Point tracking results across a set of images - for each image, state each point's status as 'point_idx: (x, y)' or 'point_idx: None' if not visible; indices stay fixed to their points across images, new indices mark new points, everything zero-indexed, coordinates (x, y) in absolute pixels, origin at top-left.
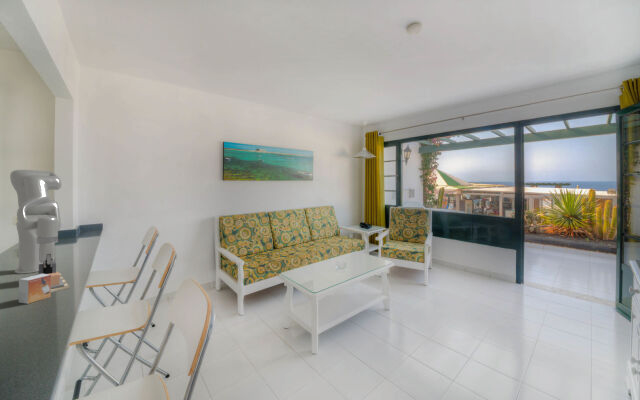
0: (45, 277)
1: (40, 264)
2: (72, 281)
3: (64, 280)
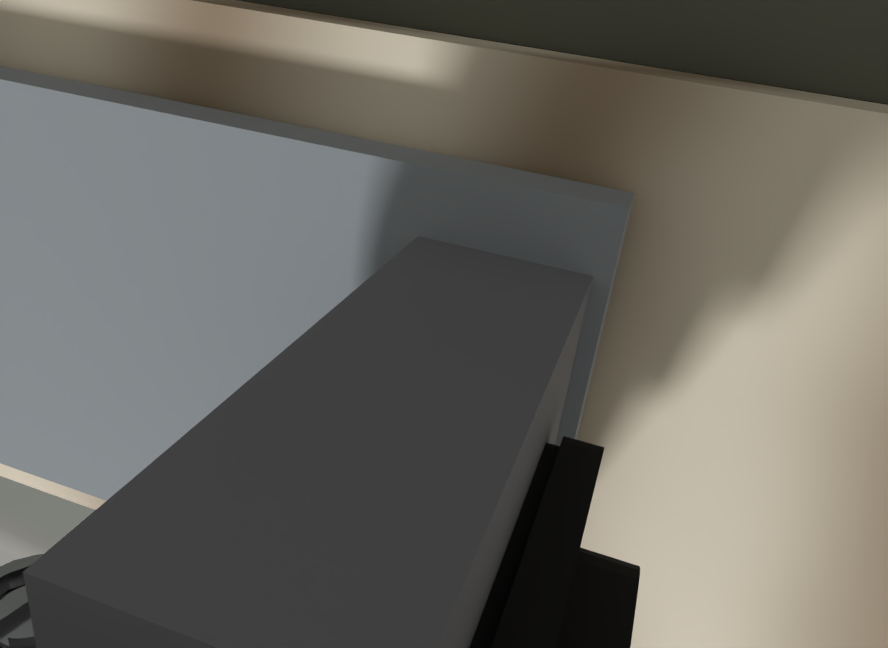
0: None
1: None
2: (49, 535)
3: (35, 482)
